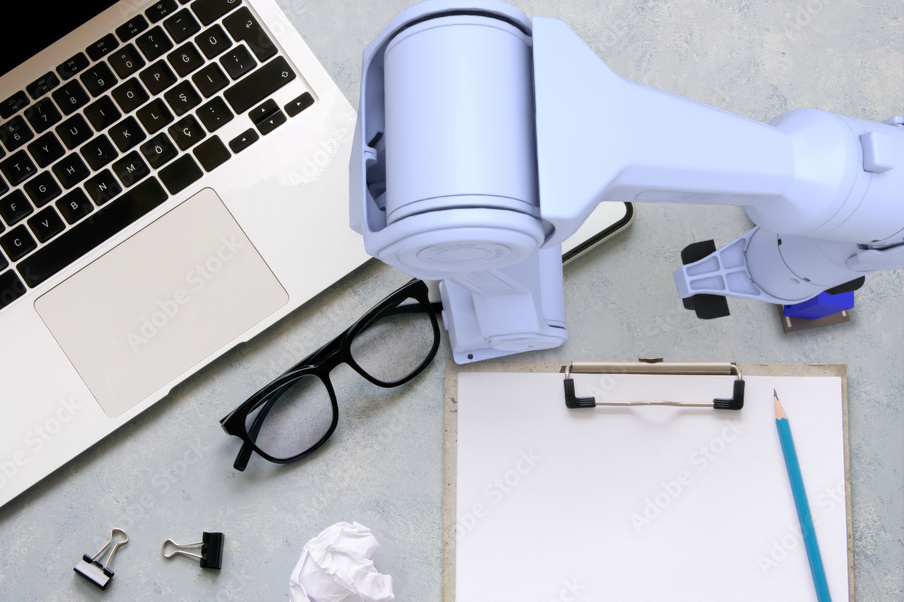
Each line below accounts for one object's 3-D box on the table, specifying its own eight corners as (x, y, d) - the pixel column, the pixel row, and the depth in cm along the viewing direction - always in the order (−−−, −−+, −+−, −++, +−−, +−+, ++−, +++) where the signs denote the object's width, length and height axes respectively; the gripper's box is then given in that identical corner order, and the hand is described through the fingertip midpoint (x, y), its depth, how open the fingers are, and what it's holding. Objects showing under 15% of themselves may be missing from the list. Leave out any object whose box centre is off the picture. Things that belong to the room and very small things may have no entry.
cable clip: (770, 190, 71) (803, 167, 65) (818, 194, 71) (855, 171, 65) (766, 314, 69) (800, 302, 63) (816, 319, 69) (853, 307, 63)
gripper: (916, 160, 48) (806, 222, 61) (694, 203, 48) (632, 257, 61) (949, 266, 47) (830, 306, 60) (722, 311, 47) (653, 341, 60)
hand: (732, 287), depth 61 cm, fingers open, 7 cm apart
